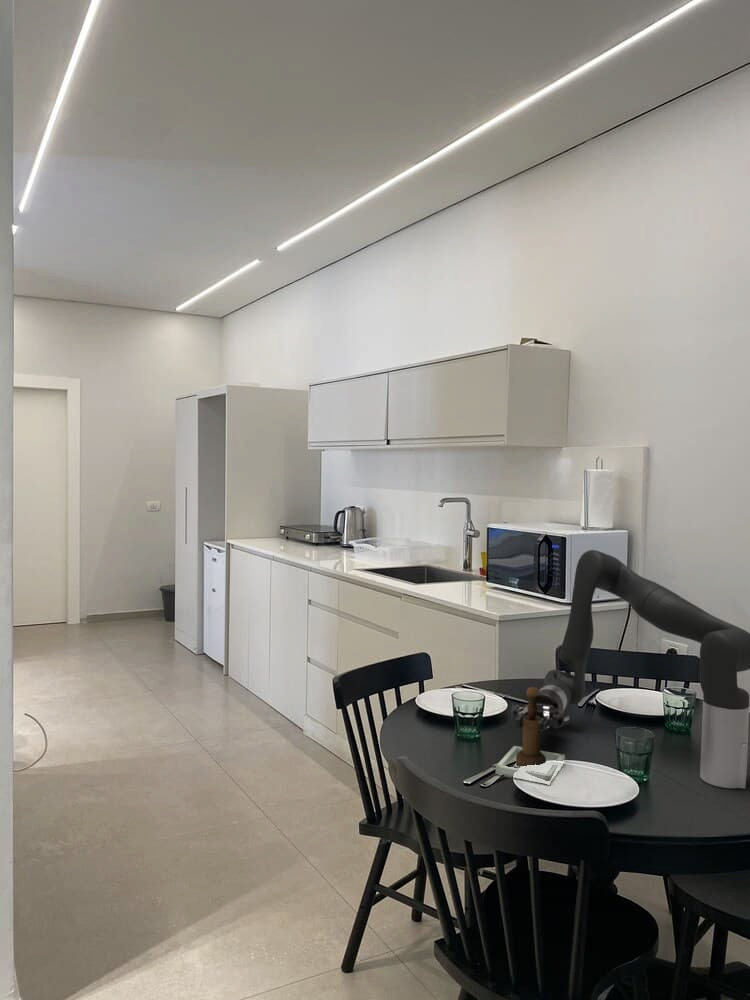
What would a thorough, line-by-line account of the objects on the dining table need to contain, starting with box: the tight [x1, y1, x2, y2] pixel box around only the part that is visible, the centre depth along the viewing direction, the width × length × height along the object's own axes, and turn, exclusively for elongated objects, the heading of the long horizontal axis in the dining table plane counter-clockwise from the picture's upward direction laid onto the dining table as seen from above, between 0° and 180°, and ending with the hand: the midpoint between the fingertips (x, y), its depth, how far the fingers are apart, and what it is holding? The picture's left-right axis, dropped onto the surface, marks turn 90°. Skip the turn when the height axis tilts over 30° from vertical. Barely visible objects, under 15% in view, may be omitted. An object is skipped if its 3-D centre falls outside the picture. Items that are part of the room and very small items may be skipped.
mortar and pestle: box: [516, 686, 546, 767], centre depth 181 cm, size 7×6×18 cm
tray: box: [495, 745, 566, 781], centre depth 182 cm, size 12×14×2 cm
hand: (528, 725), depth 179 cm, fingers open, 4 cm apart
